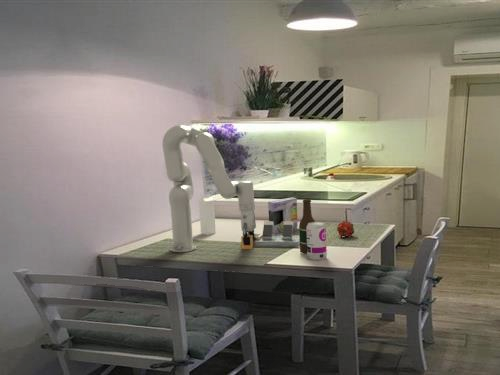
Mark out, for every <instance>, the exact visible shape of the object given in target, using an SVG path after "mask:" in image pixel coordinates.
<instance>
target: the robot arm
mask: <svg viewBox="0 0 500 375" xmlns="http://www.w3.org/2000/svg"><path fill="white" fill-rule="evenodd" d="M162 137H163V138H162V150H163V158H164V164H165V169H166V175H167V178H168V179H169V181H171V182H172V183H173V187H172V188H171V189H170V190H169V194H168V201H169V202H168V203H169V207H170V217H171V229H172V230H171V232H172V244H173V245H171V247H170V248H169V249H170V252H172V253H173V252H174V253H187V252H191V251H195V250H196V249H197V245H196V244H194V240H193V239H194V238H193V236H194V235H193V225H192V224H193V220H192V219H193V218H192V210H191V209H192V208H191V204H190V200H192V198H193V197H194V184H193V179H192V172H191V169H190V166H188V163H186V162H185V161H184V158H183V153H182V149H181V144H182V143H183V144H187V145H189V146H192V147H195V148H196V150H197V151H198V153H199V156H200V157H201V159H202V161H203V162H204V164H205V166H206V168H207V171H208V173H209V176H210V178H211V180H212V182H213V185H214V186H215V188H216V190H217V192H218V194H219V195H220V196H221V197H222V198H224V199H226V200H230V199H233V198H234V197H236V196H237V200H238V211H240V227H241V231H242V236H243V244H244V245H250V237H249V235H253V241H254V240H255V235H254V234H255V229H256V228H257V223H256V214H255V209H256V208H255V192H254V182H253V181H251V180H242V181H232V180H231V179H230V177H229V175H228V173H227V170H226V167H225V162H224V158H223V156H222V155H221V153H220V151H219V149H218V148H217V146H216V144H215V137H214V136H213V135H212V134H211V133H209V132H206V131H203V130H200V129H197V128H194V127H192V126H188V125H183V124H177V125H173V126H172V127H170V128H169V129H168V130H167V131H166V132H165V134H164V135H163V136H162ZM247 233H248V234H247Z"/></svg>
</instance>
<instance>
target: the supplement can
mask: <svg viewBox="0 0 500 375" xmlns="http://www.w3.org/2000/svg"><path fill="white" fill-rule="evenodd" d="M326 227H327V226H326V225H325V223H324V222H321V221H315V222H311V223H308V225H307V227H306V229H307V254H306V256H307V257H308V259H309V260H313V261H321V260H325V259H326V258H327V255H328V254H327V228H326Z"/></svg>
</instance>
